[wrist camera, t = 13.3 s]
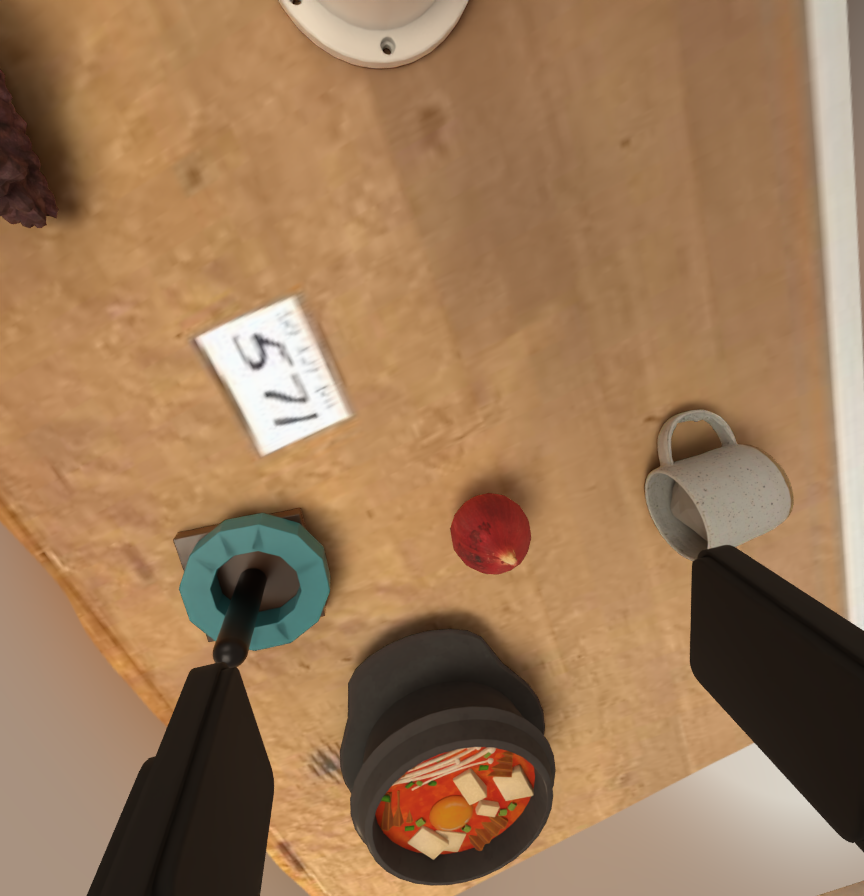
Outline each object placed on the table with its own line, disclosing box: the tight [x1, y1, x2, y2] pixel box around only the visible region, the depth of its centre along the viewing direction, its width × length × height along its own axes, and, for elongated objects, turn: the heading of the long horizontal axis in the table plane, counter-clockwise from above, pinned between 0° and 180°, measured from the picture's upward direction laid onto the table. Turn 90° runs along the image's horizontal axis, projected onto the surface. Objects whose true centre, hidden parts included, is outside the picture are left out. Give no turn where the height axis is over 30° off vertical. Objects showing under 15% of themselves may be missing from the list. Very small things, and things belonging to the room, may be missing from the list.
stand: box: [173, 508, 325, 668], centre depth 34 cm, size 9×9×10 cm
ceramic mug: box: [645, 410, 793, 561], centre depth 39 cm, size 11×8×8 cm
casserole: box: [340, 629, 555, 885], centre depth 43 cm, size 25×19×8 cm
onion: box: [450, 493, 531, 574], centre depth 37 cm, size 6×6×8 cm
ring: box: [179, 513, 331, 651], centre depth 37 cm, size 10×10×2 cm
